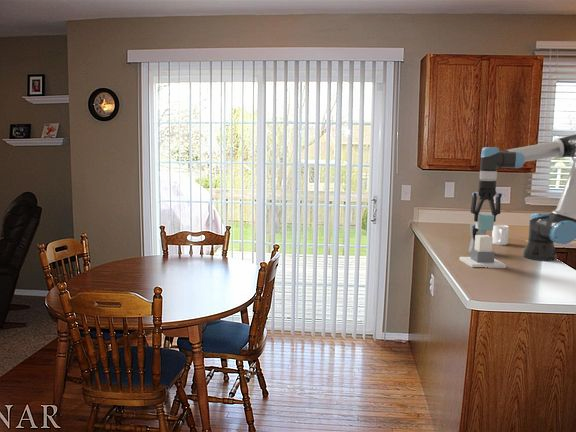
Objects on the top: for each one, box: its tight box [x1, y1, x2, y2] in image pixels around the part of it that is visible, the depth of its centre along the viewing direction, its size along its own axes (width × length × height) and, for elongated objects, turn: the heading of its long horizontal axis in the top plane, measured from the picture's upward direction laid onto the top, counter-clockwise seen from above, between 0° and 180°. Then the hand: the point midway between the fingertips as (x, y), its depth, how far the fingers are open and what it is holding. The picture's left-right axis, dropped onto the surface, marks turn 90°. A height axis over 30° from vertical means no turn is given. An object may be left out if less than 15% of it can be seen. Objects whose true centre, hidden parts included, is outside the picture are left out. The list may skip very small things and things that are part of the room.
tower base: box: [459, 249, 507, 269], centre depth 236 cm, size 16×16×6 cm
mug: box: [491, 224, 510, 246], centre depth 286 cm, size 9×12×11 cm
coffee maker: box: [468, 222, 487, 253], centre depth 262 cm, size 15×9×18 cm, turn 144°
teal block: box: [478, 213, 495, 231], centre depth 233 cm, size 6×6×7 cm
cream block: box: [474, 234, 493, 252], centre depth 235 cm, size 6×6×7 cm
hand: (484, 228), depth 234 cm, fingers closed on teal block, 6 cm apart
